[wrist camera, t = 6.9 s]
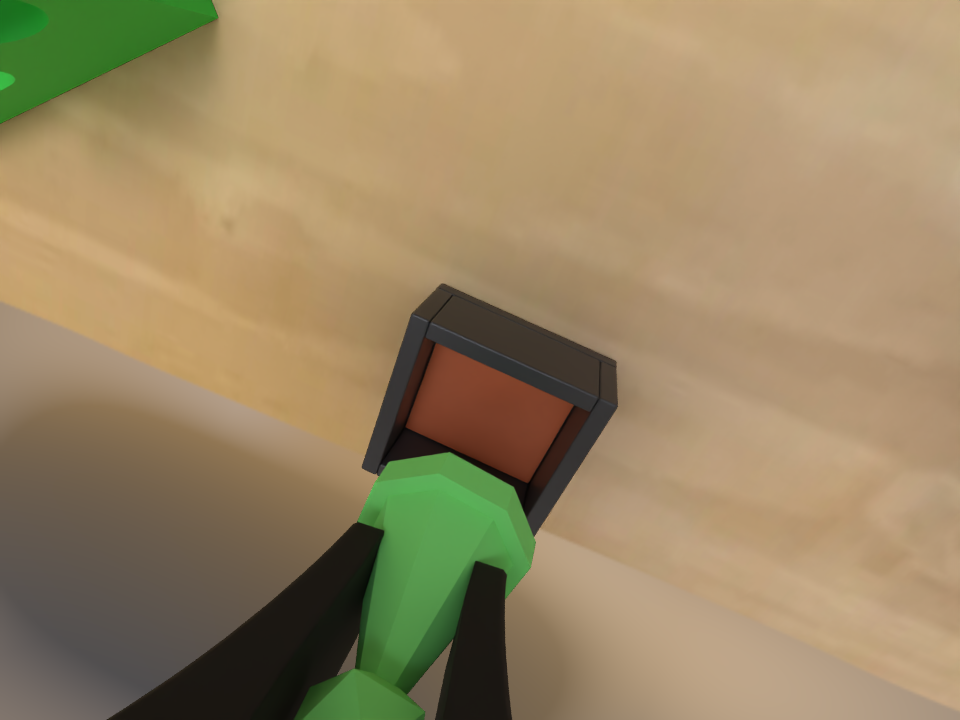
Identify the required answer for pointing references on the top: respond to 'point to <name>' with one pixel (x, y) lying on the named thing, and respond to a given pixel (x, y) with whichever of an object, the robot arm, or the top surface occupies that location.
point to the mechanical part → (81, 42)
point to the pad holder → (494, 398)
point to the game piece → (421, 579)
